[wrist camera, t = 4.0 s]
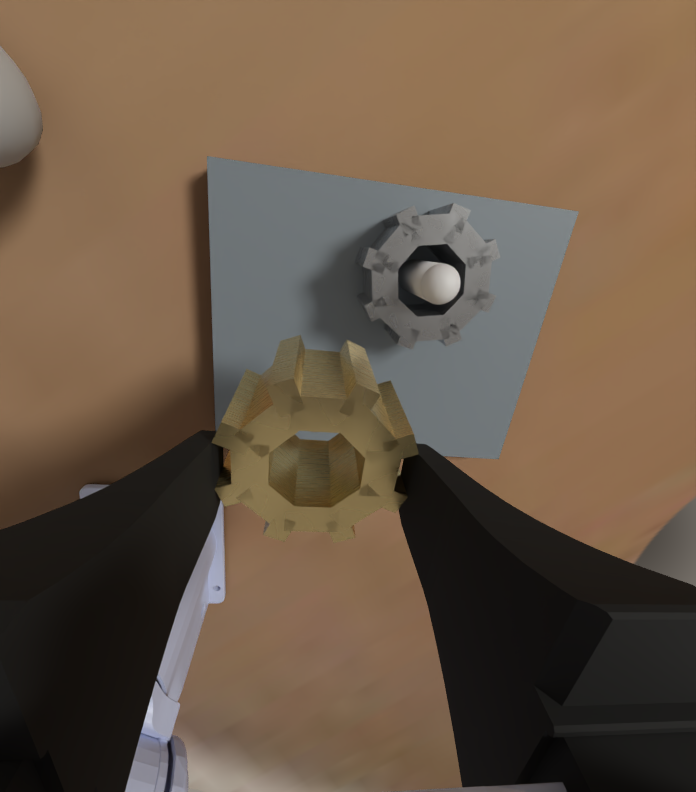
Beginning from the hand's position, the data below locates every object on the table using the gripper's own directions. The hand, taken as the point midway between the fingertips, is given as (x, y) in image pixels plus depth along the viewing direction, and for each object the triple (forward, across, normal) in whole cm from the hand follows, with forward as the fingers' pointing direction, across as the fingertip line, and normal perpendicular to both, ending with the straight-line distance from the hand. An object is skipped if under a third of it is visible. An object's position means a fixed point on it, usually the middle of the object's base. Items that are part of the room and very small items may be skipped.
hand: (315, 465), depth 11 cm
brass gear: (+2, 0, -1) cm, 3 cm away
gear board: (+9, -3, -2) cm, 10 cm away
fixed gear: (+8, -4, -6) cm, 10 cm away
